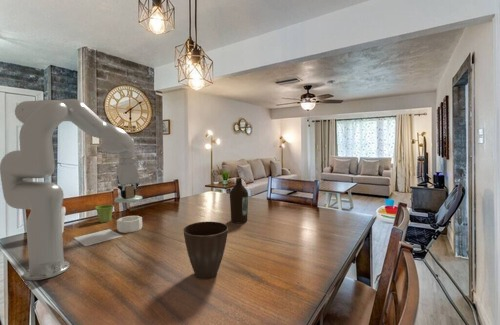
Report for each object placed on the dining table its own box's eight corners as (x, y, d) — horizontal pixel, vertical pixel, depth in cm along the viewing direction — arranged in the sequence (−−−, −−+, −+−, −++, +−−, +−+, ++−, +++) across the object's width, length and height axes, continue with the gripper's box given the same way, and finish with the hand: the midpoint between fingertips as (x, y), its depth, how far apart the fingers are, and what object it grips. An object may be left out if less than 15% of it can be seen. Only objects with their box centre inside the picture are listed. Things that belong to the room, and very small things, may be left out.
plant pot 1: (117, 219, 154) (117, 204, 154) (107, 223, 145) (107, 208, 144) (103, 218, 155) (102, 204, 155) (92, 223, 146) (91, 208, 145)
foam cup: (53, 238, 122) (52, 211, 121) (38, 237, 124) (36, 210, 123) (71, 232, 132) (70, 207, 131) (56, 230, 133) (55, 206, 132)
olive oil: (226, 222, 146) (226, 178, 145) (235, 217, 156) (234, 176, 154) (243, 224, 142) (243, 179, 141) (251, 219, 152) (251, 177, 150)
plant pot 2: (229, 263, 96) (229, 221, 95) (227, 284, 81) (226, 235, 80) (189, 263, 96) (188, 221, 94) (179, 285, 81) (178, 236, 80)
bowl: (145, 229, 135) (145, 218, 134) (124, 235, 126) (123, 223, 126) (135, 225, 142) (135, 214, 141) (114, 230, 133) (114, 219, 133)
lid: (146, 199, 134) (146, 186, 133) (121, 203, 124) (120, 189, 123) (135, 196, 142) (134, 183, 142) (110, 200, 132) (109, 186, 132)
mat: (123, 237, 124) (123, 236, 124) (85, 247, 111) (85, 246, 111) (109, 230, 134) (109, 229, 134) (73, 238, 122) (73, 237, 122)
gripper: (139, 160, 140) (140, 194, 142) (106, 162, 128) (108, 199, 129) (146, 161, 135) (147, 195, 137) (112, 163, 123) (114, 201, 124)
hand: (128, 197), depth 133 cm, fingers closed on lid, 4 cm apart
